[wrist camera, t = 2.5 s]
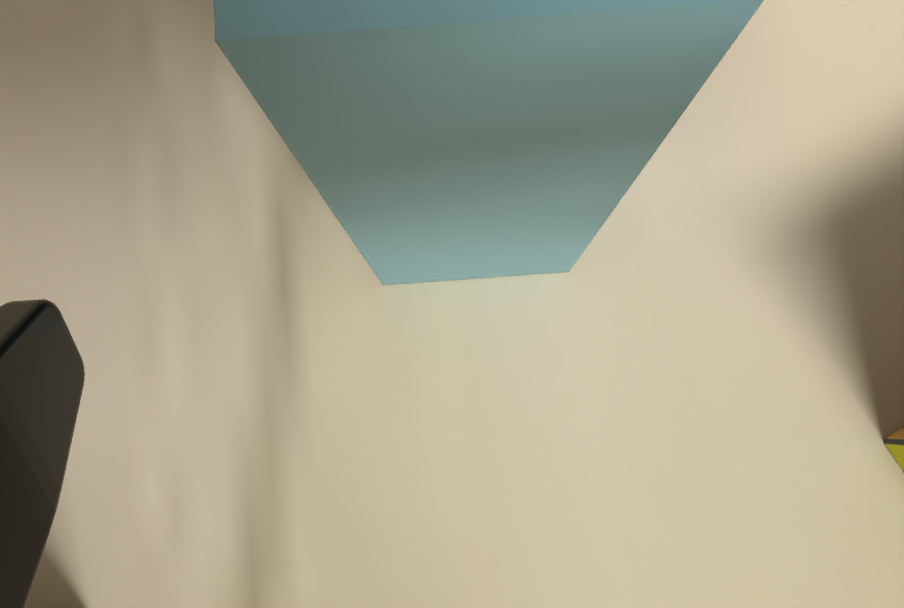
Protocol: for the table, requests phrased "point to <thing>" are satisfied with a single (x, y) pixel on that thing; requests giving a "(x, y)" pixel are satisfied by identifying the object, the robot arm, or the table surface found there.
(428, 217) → the teal block
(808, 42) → the table surface
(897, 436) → the puzzle toy
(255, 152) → the table surface
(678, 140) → the table surface
